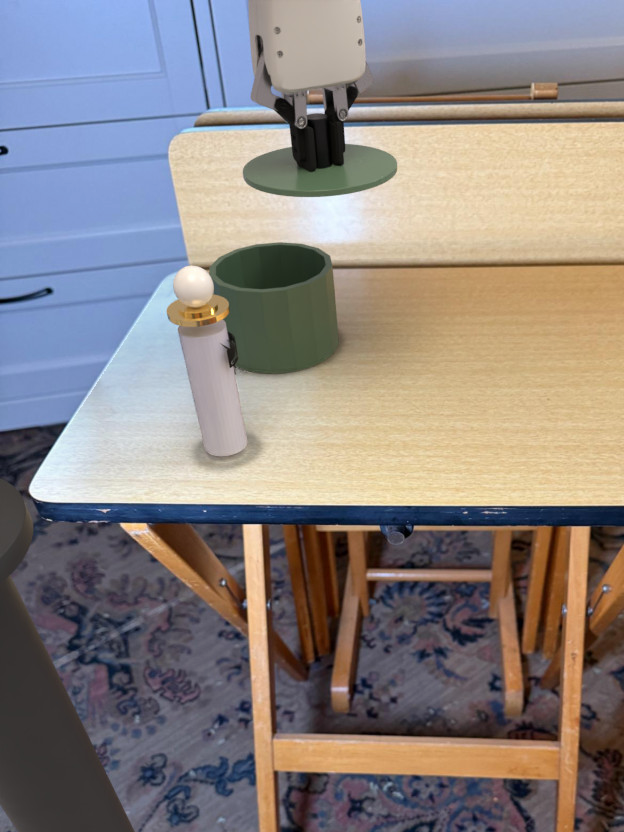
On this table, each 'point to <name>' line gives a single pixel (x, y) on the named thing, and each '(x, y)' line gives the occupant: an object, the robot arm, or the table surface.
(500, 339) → the table surface
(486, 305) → the table surface
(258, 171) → the tin lid
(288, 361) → the tin
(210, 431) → the perfume bottle
